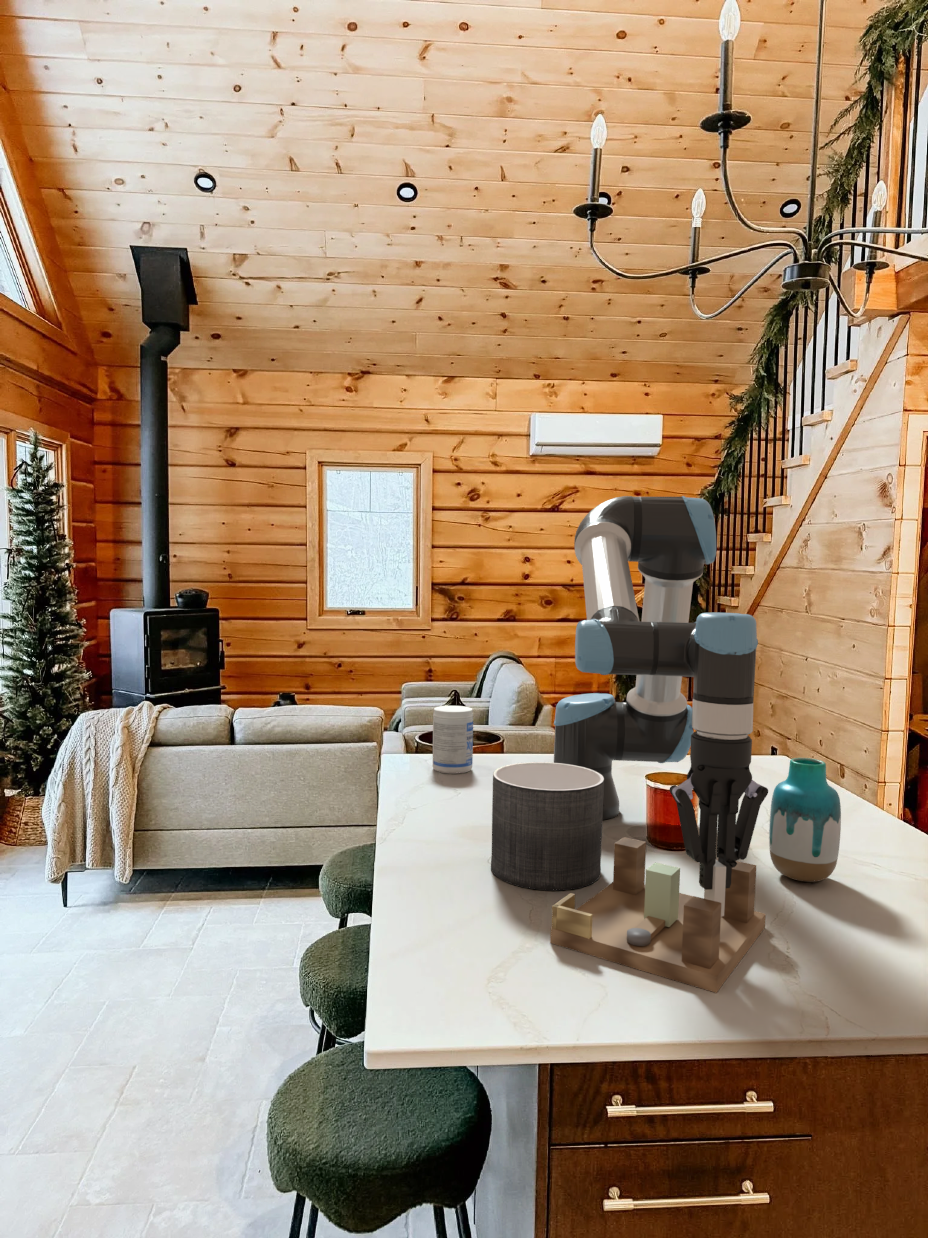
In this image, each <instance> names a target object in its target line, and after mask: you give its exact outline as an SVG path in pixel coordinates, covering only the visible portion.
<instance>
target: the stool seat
mask: <svg viewBox="0 0 928 1238" xmlns="http://www.w3.org/2000/svg"><path fill="white" fill-rule="evenodd" d="M613 846H614V849H613V879H612V882H611V883H609V884H608V885H606V886H605V887H604V888H602V890H600V891H598V892H597V893H595V895H593V896H592V897H590V898H589V899H588V900H586V901H585V902H584V903H583V904H581V905H580V906H578V907H577V908H576V894H575V893H572V892H570V893H568V894H567V895H566V896H564V897H563V898H561V899H560V900H559V901H557V902H555V903H554V904H553V905H551V927H550V937H549V938H550V939H549V943H550V944H552V945H556V946H559V947H563V948H566V949H568V950H573V951H575V952H579V953H582V954H585V955H587V956H593V957H595V958H599V959H603V960H605V961H609V962H611V963H612V962H613V963H615V964H619V965H622V966H626V967H629V968H632V969H636V970H638V971H642V972H645V973H649V974H653V975H656V976H659V977H661V978H662V977H663V978H665V979H669V980H672V981H676V982H677V983H678V982H679V983H682V984H685V985H689V986H692V987H696V988H699V989H702V990H706V991H707V992H708V991H709V992H712V993H715V994H717V993H718V992H719V990H720V989H721V988H722V986H723V985H724V984H725V982H726V981H727V980H728V978H729V977H730V976H731V974H732V973H733V971H734V970H735V968H736V967H737V966H738V965H739V963H740V962H741V960H742V959H743V958H745V956H746V954H747V953H748V951H749V950H750V948H751V947H752V946H753V945H754V943H755V942H756V940H757V939H758V938H759V936H760V935H761V934H762V933H763V931H764V930H765V929H766V916H767V914H766V913H764V912H761V911H757V910H755V902H756V882H757V880H756V879H757V864H754V863H753V864H752V863H749V862H743V861H739V860H737V861H735V862H737V865H736V866H735V867H733V868H732V874H731V886H730V888H725V908H724V916H721V903H720V902H716V901H712V900H708V899H704V897H703V898H702V897H699V896H695V895H690V894H686V893H681V892H679V910H678V919H677V920H676V921H675V922H674V923H673V924H672V925H671V926H670V927H666V926H665V927H664V928H663V929H662V930H661V931H660V932H659V933H658V934H656V935H655V936H654V937H653V938H652V939H651V943H650V944H649V945H647V946H636V945H632V944H630V943H628V942H627V930H629V929H631V928H635V927H636V926H637V925H638V924H640V923H641V922H642V921H643V920H644V907H645V881H646V852H647V851H646V849H647V841H644V840H641V839H636V838H630V837H625V836H624V837H622V838H621V839H619V840H618V841H616V842H614V845H613Z"/></svg>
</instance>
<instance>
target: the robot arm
mask: <svg viewBox="0 0 928 1238" xmlns="http://www.w3.org/2000/svg"><path fill="white" fill-rule="evenodd" d="M713 512H714V511H713V509H712V506H711V504H710V503H709V502H708V501H707V500H706V499H704V498H702V497H701V498H699V497H687V496H684V495H682V496H632V495H623V496H618V497H613V498H611V499H608V500H605V501H603V502H601V503H600V504H598V505H596V506H595V507H594V508H593V509H591V510H590V511H589V512H588V513H587V514H586V515H585V516H584V518H582V520H581V521H580V523H579V525H578V527H577V529H576V531H575V535H574V540H573V541H574V542H573V543H574V554H575V557H576V560H577V561H578V562H579V564H580V565H581V566H582V567H581V569H582V579H583V589H584V590H583V591H584V601H585V613H586V619H584V620H580V621H578V622H577V624H576V628H575V642H574V661H575V667H576V668H577V670H578V671H580V672H581V673H587V674H588V673H589V674H600V675H601V676H602V675H603V676H608V675H616V676H617V675H623V676H624V675H625V676H626V675H628V676H629V675H631V676H635V677H636V678H635V679H636V680H635V686H634V687H633V688H631V689H630V690H629V691H628V692H627V694H626V701H625V702H624V701H621V702H620V701H616V699H615V696H614V695H612V694H610V693H600V692H593V693H581V694H574V695H570V696H566V697H564V698H561V700H559V701H558V703H557V704H556V706H555V715H554V722H553V725H554V741H553V742H554V745H553V763H561V764H569V765H575V766H580V767H584V768H588V769H591V770H594V771H596V772H598V773H600V774H601V775H602V776H603V777H604V795H603V818H602V821H603V820H609V819H613V818H614V817H617V816H618V815H619V814H620V799H619V796H618V792H617V789H616V786H615V785H616V784H615V782H614V778H613V774H612V773H613V772H612V769H613V761H623V762H625V761H626V762H647V763H648V762H649V763H651V762H652V763H658V764H664V763H665V764H666V763H678V762H681V761H682V760H684V759H685V758H687V757H686V756H687V755H688V753H690V754H689V755H690V756H689V758H690V768H689V770H688V772H687V773H686V775H687V776H686V780H684V781H683V782H682V783H680V784H679V785H678V786H677V785H675V784H674V785H671V786H670V787H669V793H670V794H671V796H672V798H673V799H674V801H675V803H676V808H677V812H678V819H679V824H680V828H681V835H682V840H683V845H684V850H685V851H684V852H685V855H687V856H688V857H689V858H690V859H692V860H693V861H695V862H696V863H699V873H698V874H699V878H698V883H699V886H700V887H702V889H704V891H703V892H704V893H703V894H704V895H703V898H704V899H708V900H712V901H716V902H720V903H721V916H724V908H725V888H730V886H731V874H732V868H733V867H735V866H736V865H737V862H735V861H739V860H741V861H744V860H746V859H747V856H748V853H749V851H750V846H751V841H752V839H753V835H754V831H755V827H756V824H757V820H758V816H759V812H760V809H761V806H762V804H763V802H764V800H765V799H766V798H767V796H768V793H769V788H767V787H766V786H764V785H762V784H759V783H757V782H756V781H755V780H753V774H752V772H751V770H750V765H751V762H752V750H753V749H752V748H753V747H752V746H753V739H752V738H751V736H749V735H750V734H752V732H753V731H754V695H755V681H756V680H755V679H756V662H757V661H756V660H757V659H756V658H757V648H758V645H759V640H758V636H757V635H758V633H757V621H756V618H755V617H754V616H753V615H752V614H748V613H741V612H740V613H736V612H718V611H717V612H715V611H714V612H702V613H700V614H699V615H698V616H697V617H696V621H695V622H689V619H690V611H691V602H692V594H693V585H694V582H695V581H696V580H698V579H699V578H702V576H703V575H704V574H703V573H704V565H710V564H713V563H714V562H715V561H716V557H717V556H716V555H717V531H716V522H715V517H714V516H715V515H714V513H713ZM630 562H631V563H632V562H633V563H634V562H637V563H638V564H637V570H638V572H639V573H640V574H641V575H642V576H643V577H644V579H645V580H644V591H643V603H642V613H641V621H640V616H639V613H638V607H637V601H636V595H635V591H634V586H633V585H634V584H633V581H632V575H631V570H630V565H629V563H630ZM683 677H687V678H690V677H691V678H693V692H692V706H691V705H689V704H688V700H687V698H686V696H685V695H684V694H683V693H682V692H681V690H682V689H681V688H682V683H683V682H682V680H683ZM694 730H695V731H694ZM693 792H694V793H695V795H696V796H697V798H698V808H699V811H700V812H699V828H698V824H697V817H696V812H695V807H694V804H693V801H692V799H693V798H694V795H693ZM742 796H743V797H742ZM741 797H742V799H741ZM740 799H741V803H740ZM739 805H740V807H739ZM737 814H738V815H737Z"/></svg>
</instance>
